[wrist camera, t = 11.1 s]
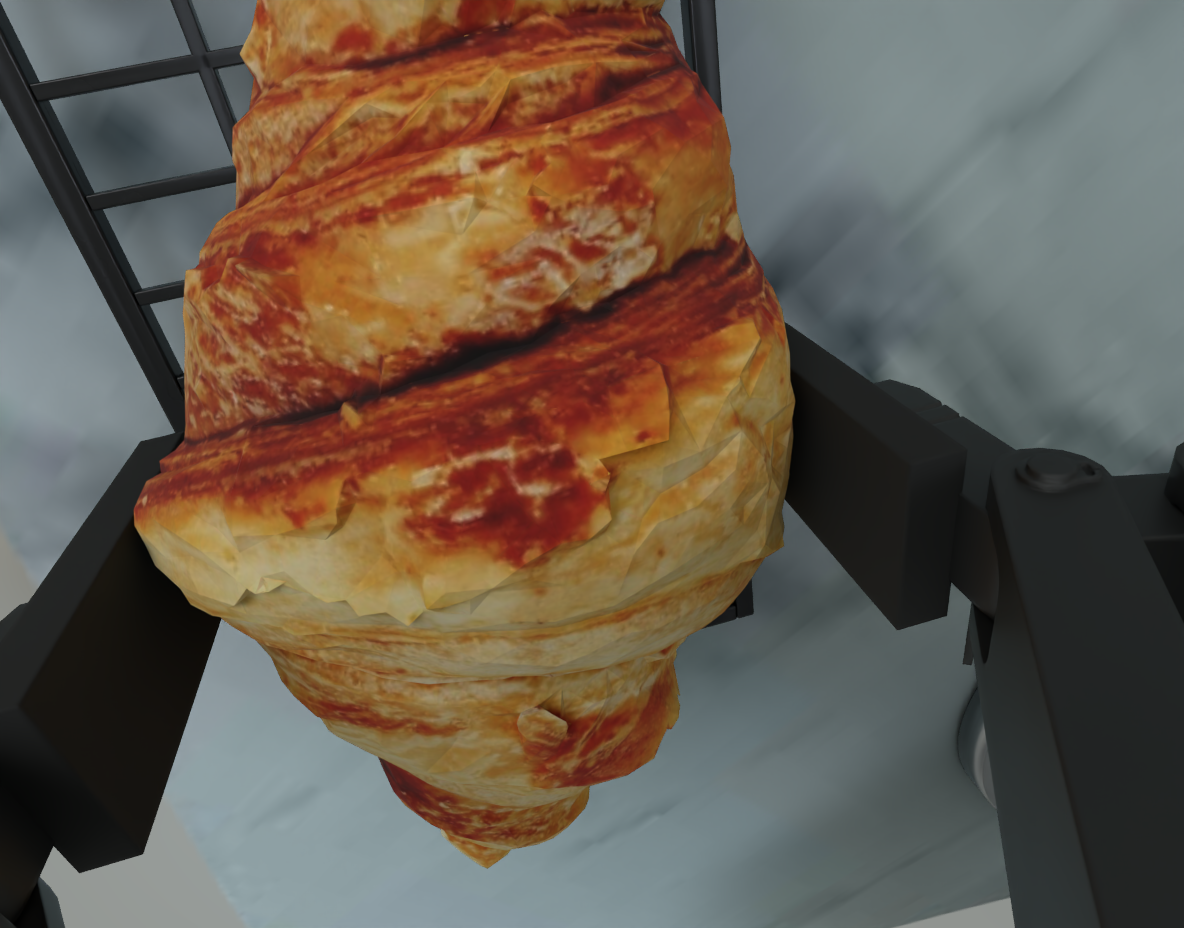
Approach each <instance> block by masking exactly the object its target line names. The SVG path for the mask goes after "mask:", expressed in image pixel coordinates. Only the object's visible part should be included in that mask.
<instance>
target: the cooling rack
mask: <svg viewBox="0 0 1184 928" xmlns="http://www.w3.org/2000/svg"><path fill="white" fill-rule="evenodd" d="M680 1H681V13H682V25H683V37H684V49H685V61H686V62H687V64H688V66H689V67H690V69H691V70H692V71H694V72H696V73H697V74H698V76H699V79H700V81H701V83H702V85H703V86H704V88H705V89H706V91H707V92H708V94H709V95H710V97H711V98H712V100H713V101H714V103H715V104H716V106H717V107H718V109H719V111H720V112H721V114H722V104H721V88H720V72H719V57H718V41H717V25H716V9H715V0H680ZM171 3H172V5H173V8H174V10H175V13H176V16H177V18H178V21H179V23H180V26H181V28H182V31H183V33H184V36H185V39H186V41H187V44H188V46H189V49H190V51H191V55H186V56H180V57H175V58H170V59H164V60H159V61H153V62H148V63H142V64H137V65H131V66H126V67H120V68H115V69H110V70H104V71H99V72H93V73H88V74H82V75H77V76H71V77H66V78H60V79H55V80H50V81H44V82H39V80H38V78H37V76H36V73H35V71H34V69H33V67H32V65H31V63H30V61H29V59H28V57H27V55H26V53H25V51H24V49H23V47H22V45H21V43H20V41H19V39H18V37H17V35H16V33H15V31H14V29H13V27H12V25H11V23H10V21H9V19H8V17H7V15H6V13H5V11H4V9H3V7H2V5H1V3H0V99H1V101H2V103H3V105H4V107H5V109H6V111H7V113H8V114H9V116H10V118H11V120H12V122H13V124H14V126H15V128H16V130H17V132H18V134H19V135H20V137H21V139H22V141H23V143H24V145H25V147H26V149H27V151H28V153H29V154H30V156H31V158H32V160H33V162H34V164H35V166H36V168H37V170H38V172H39V174H40V175H41V177H42V179H43V181H44V183H45V185H46V187H47V189H48V191H49V193H50V195H51V196H52V198H53V200H54V202H55V204H56V206H57V208H58V210H59V212H60V214H61V216H62V217H63V219H64V221H65V223H66V225H67V227H68V229H69V231H70V233H71V235H72V237H73V238H74V240H75V242H76V244H77V246H78V248H79V250H80V252H81V254H82V256H83V258H84V259H85V261H86V263H87V265H88V267H89V269H90V271H91V273H92V275H93V277H94V278H95V280H96V282H97V284H98V286H99V288H100V290H101V292H102V294H103V296H104V298H105V299H106V301H107V303H108V305H109V307H110V309H111V311H112V313H113V315H114V317H115V319H116V320H117V322H118V324H119V326H120V328H121V330H122V332H123V334H124V336H125V338H126V340H127V341H128V343H129V345H130V347H131V349H132V351H133V353H134V355H135V357H136V359H137V361H138V362H139V364H140V366H141V368H142V370H143V372H144V374H145V376H146V378H147V380H148V381H149V383H150V385H151V387H152V389H153V391H154V393H155V395H156V397H157V399H158V401H159V402H160V404H161V406H162V408H163V410H164V412H165V414H166V416H167V418H168V420H169V422H170V423H171V425H172V427H173V429H174V431H175V433H178V432H183V431H184V433H185V427H186V420H185V384H184V373H183V371H182V369H181V367H180V365H179V363H178V361H177V359H176V357H175V355H174V353H173V351H172V349H171V347H170V345H169V343H168V341H167V339H166V337H165V335H164V333H163V331H162V329H161V327H160V325H159V323H158V321H157V319H156V317H155V314H154V312H153V310H152V308H151V306H150V304H153V303H157V302H162V301H167V300H171V299H176V298H180V297H184V286H185V280H181V281H176V282H172V283H167V284H162V285H158V286H153V287H148V288H144V289H142V288H141V286H140V284H139V282H138V280H137V278H136V276H135V274H134V272H133V270H132V268H131V266H130V264H129V262H128V260H127V258H126V256H125V254H124V252H123V250H122V248H121V246H120V244H119V242H118V240H117V238H116V236H115V233H114V231H113V229H112V227H111V225H110V223H109V221H108V219H107V217H106V215H105V213H104V211H103V209H107V208H111V207H116V206H121V205H126V204H131V203H136V202H141V201H146V200H151V199H156V198H161V197H166V196H171V195H176V194H180V193H185V192H190V191H195V190H200V189H205V188H210V187H215V186H220V185H225V184H230V183H235V182H236V177H237V170H236V168H235V165H232V166H227V167H222V168H217V169H212V170H207V171H202V172H197V173H192V174H187V175H182V176H177V177H172V178H167V179H162V180H157V181H152V182H147V183H142V184H137V185H132V186H127V187H122V188H117V189H112V190H107V191H102V192H98V193H94V191H93V189H92V187H91V185H90V183H89V181H88V179H87V177H86V175H85V173H84V171H83V169H82V167H81V165H80V163H79V161H78V159H77V157H76V154H75V152H74V150H73V148H72V146H71V144H70V142H69V140H68V138H67V136H66V134H65V132H64V130H63V128H62V126H61V124H60V122H59V120H58V118H57V116H56V114H55V112H54V110H53V108H52V106H51V104H50V102H49V100H54V99H59V98H65V97H70V96H76V95H81V94H86V93H92V92H97V91H102V90H108V89H113V88H119V87H124V86H129V85H135V84H140V83H145V82H151V81H156V80H161V79H167V78H172V77H178V76H183V75H188V74H194V73H199V74H200V77H201V80H202V82H203V85H204V87H205V90H206V92H207V95H208V97H209V100H210V103H211V105H212V108H213V110H214V113H215V115H216V118H217V120H218V123H219V126H220V128H221V131H222V133H223V136H224V138H225V141H226V143H227V146H228V149H229V151H230V154H231V156H232V137H233V126H234V125H235V124H236V123H237V120H236V117H235V115H234V112H233V109H232V107H231V104H230V102H229V99H228V96H227V94H226V91H225V88H224V86H223V83H222V80H221V78H220V75H219V72H218V70H217V69H221V68H226V67H231V66H237V65H242V64H245V62H244V61H243V59H242V57H241V56H240V52H241V50H242V48H243V46H244V45H240V46H235V47H229V48H224V49H219V50H213V51H210V49H209V46H208V43H207V41H206V38H205V35H204V33H203V30H202V28H201V25H200V22H199V20H198V17H197V14H196V12H195V9H194V6H193V4H192V1H191V0H171ZM752 614H754V608H753V592H752V578H751V579H750V581H749V582H748V584H747V585H746V587H745V588H744V589H743V591H742V592H741V593H740V594H739V595H738V596H737V598H736V599H735V600H734V601H733V602H732V603H731V605H730V606H729V607H728V608H727V609H726V610H725V612H723V613H722V614H721V615H719V616H718V617H717V618H716V619H714V620H713V621H712V622H710V623H709V624H708V625H706V626H705V627H703V628H702V629H704V628H707V627H711V626H714V625H718V624H721V623H725V622H728V621H731V620H735V619H736V618H742V617H745V616H749V615H752Z"/></svg>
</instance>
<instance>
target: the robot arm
mask: <svg viewBox="0 0 1184 928" xmlns="http://www.w3.org/2000/svg"><path fill="white" fill-rule="evenodd" d="M784 324H785V329H786V335H787V340H788V346H789V351H790V381H791V385H792V389H793V393H794V397H795V406H794V411H793V416H792V424H793V444H792V452H791V461H790V470H789V474H790V475H789V479H788V485H787V490H786V494H785V500H786V501H787V502H788V504H789V505H790V506H791V507H792V508H793V509H794V511H795V512H796V513H797V514H798V515H799V516H800V518H801V519H802V520H803V521H804V522H805V523H806V525H807V526H808V527H809V528H810V529H811V530H812V532H813V533H814V534H815V535H816V536H817V537H818V539H819V540H820V541H821V542H822V543H823V544H824V546H825V547H826V548H827V549H828V550H829V551H830V553H831V554H832V555H833V556H834V557H835V558H836V560H837V561H838V562H839V563H840V564H841V565H842V567H843V568H844V569H845V570H846V571H847V572H848V574H849V575H850V576H851V577H852V578H853V579H854V581H855V582H856V583H857V584H858V585H859V586H860V588H861V589H862V590H863V591H864V592H865V593H866V595H867V596H868V597H869V598H870V599H871V600H872V602H873V603H874V604H875V605H876V606H877V607H878V609H879V610H880V611H881V612H882V613H883V614H884V616H885V617H886V618H887V619H888V620H889V621H890V623H891V624H892V625H893V626H894V627H895V628H896V630H901V629H904V628H907V627H911V626H914V625H917V624H921V623H924V622H928V621H931V620H934V619H938V618H941V617H944V616H947V612H948V604H949V595H950V587H951V582H952V583H953V584H954V585H955V586H956V587H957V588H958V589H959V590H960V591H961V592H962V593H963V594H964V595H965V596H966V597H967V598H968V599H969V600H970V601H971V602H972V604H971V610H970V617H969V624H968V631H967V638H966V645H965V652H964V659H963V664H966V665H972V661H973V657H974V664H975V670H976V677H977V683H978V688H977V690H976V692H975V693H974V695H973V697H972V699H971V701H970V702H969V705H968V707H967V709H966V711H965V714H964V717H963V720H962V723H961V727H960V731H959V738H958V752H959V757H960V761H961V764H962V766H963V768H964V770H965V771H966V773H967V774H968V776H969V777H970V778H971V780H972V781H973V782H974V783H975V785H976V786H977V787H978V788H979V790H980V791H981V792H982V794H983V795H984V796H985V797H986V799H987V800H988V801H989V803H990V804H991V805H992V806H993V807H994V808H995V809H996V810H997V813H998V820H999V826H1000V833H1001V839H1002V846H1003V852H1004V859H1005V865H1006V872H1007V878H1008V885H1009V891H1010V898H1011V904H1012V911H1013V917H1014V924H1015V928H1184V442H1183V443H1182V444H1180V445H1179V446H1177V448H1176V451H1175V455H1174V458H1173V461H1172V465H1171V468H1170V471H1169V473H1161V474H1145V475H1128V476H1111V475H1110V473H1109V472H1108V471H1107V470H1106V469H1105V468H1104V467H1103V466H1102V465H1100V464H1098V463H1096V462H1095V461H1093V460H1091V459H1089V458H1087V457H1085V456H1082V455H1078V454H1075V453H1071V452H1067V451H1064V450H1055V449H1046V448H1032V449H1019V450H1015V449H1013V448H1012V447H1010V446H1009V445H1007V444H1006V443H1004V442H1002V441H1001V440H999V439H998V438H996V437H995V436H993V435H992V434H990V433H988V432H987V431H985V430H984V429H982V428H981V427H979V426H978V425H976V424H974V423H973V422H971V421H970V420H968V419H967V418H965V417H959V413H957V412H956V411H954V410H953V409H951V408H949V407H948V406H946V405H943V406H942V404H941V402H940V401H939V400H937V399H935V398H934V397H932V396H931V395H929V394H928V393H926V392H925V391H923V390H921V389H920V388H917V387H913V386H910V385H907V384H903V383H900V382H897V381H893V380H886V381H882V382H878V383H874V384H873V383H872V382H870V381H869V380H867V379H866V378H865V377H863V376H862V375H860V374H859V373H857V372H856V371H855V370H853V369H852V368H850V367H849V366H847V365H846V364H844V363H843V362H842V361H840V360H839V359H837V358H836V357H834V356H833V355H832V354H830V353H829V352H827V351H826V350H824V349H823V348H821V347H820V346H819V345H817V344H816V343H814V342H813V341H811V340H810V339H809V338H807V337H806V336H804V335H803V334H801V333H800V332H798V331H797V330H796V329H794V328H793V327H791V326H790V325H788V324H787V323H786V322H784ZM184 437H185V433H184V431H183V432H178V433H174V434H170V435H166V436H162V437H157V438H153V439H149V440H145V441H141V442H140V443H139V445H138V446H137V448H136V449H135V450H134V452H133V453H132V455H131V456H130V458H129V459H128V460H127V462H126V463H125V465H124V466H123V468H122V469H121V470H120V472H119V473H118V475H117V476H116V478H115V479H114V480H113V482H112V483H111V485H110V486H109V488H108V489H107V490H106V492H105V493H104V495H103V496H102V498H101V499H100V501H99V502H98V503H97V505H96V506H95V508H94V509H93V511H92V512H91V513H90V515H89V516H88V518H87V519H86V521H85V522H84V523H83V525H82V526H81V528H80V529H79V531H78V532H77V533H76V535H75V536H74V538H73V539H72V541H71V542H70V543H69V545H68V546H67V548H66V549H65V551H64V552H63V553H62V555H61V556H60V558H59V559H58V561H57V562H56V563H55V565H54V566H53V568H52V569H51V571H50V572H49V573H48V575H47V576H46V578H45V579H44V581H43V582H42V583H41V585H40V586H39V588H38V589H37V591H36V592H35V594H34V595H33V596H32V598H31V599H30V601H29V602H28V603H25V604H21V605H19V606H18V607H17V608H16V609H14V610H13V611H12V612H11V613H10V614H8V615H7V616H6V617H5V618H4V619H3V620H1V621H0V928H65V926H64V922H63V918H62V914H61V909H60V905H59V901H58V898H57V896H56V895H55V894H54V892H53V891H52V889H51V888H50V887H49V886H48V885H47V884H46V883H45V882H44V881H43V880H42V879H41V878H40V874H41V872H42V870H43V868H44V865H45V863H46V861H47V859H48V857H49V855H50V852H51V850H52V848H53V846H54V847H55V848H56V849H57V850H58V851H59V852H60V853H61V854H62V855H63V856H64V857H65V858H66V859H67V861H68V862H69V863H70V864H71V865H72V866H73V867H74V868H75V869H76V870H77V871H78V872H79V873H82V872H85V871H88V870H92V869H95V868H99V867H102V866H105V865H109V864H112V863H115V862H119V861H122V860H125V859H129V858H132V857H135V856H139V855H142V854H143V852H144V850H145V846H146V843H147V840H148V837H149V835H150V832H151V829H152V826H153V823H154V820H155V817H156V814H157V811H158V808H159V805H160V802H161V799H162V796H163V793H164V790H165V787H166V784H167V781H168V778H169V775H170V772H171V769H172V766H173V763H174V760H175V757H176V754H177V751H178V748H179V745H180V742H181V739H182V736H183V733H184V730H185V727H186V723H187V720H188V717H189V714H190V711H191V708H192V705H193V702H194V699H195V696H196V693H197V690H198V687H199V684H200V681H201V678H202V675H203V672H204V669H205V666H206V663H207V660H208V657H209V654H210V651H211V648H212V645H213V642H214V639H215V636H216V633H217V630H218V627H219V624H220V621H221V617H217V616H212V615H210V614H208V613H206V612H204V611H202V610H200V609H198V608H197V607H195V606H193V605H191V604H190V603H189V601H188V600H187V598H186V597H185V595H184V594H183V592H182V591H181V589H180V588H179V587H178V586H177V585H176V584H174V583H173V582H172V581H171V580H170V579H169V578H168V577H167V576H166V575H165V574H164V573H163V572H162V571H160V570H159V569H158V568H157V567H156V566H155V564H154V562H153V560H152V558H151V556H150V554H149V552H148V550H147V548H146V546H145V544H144V542H143V540H142V538H141V536H140V535H139V533H138V531H137V529H136V527H135V525H134V507H135V505H136V503H137V501H138V499H139V496H140V494H141V492H142V490H143V488H144V485H145V483H146V481H148V480H149V479H151V478H153V477H155V476H156V475H158V474H160V473H161V468H160V460H162V459H163V458H165V457H166V456H168V455H169V454H171V453H172V452H174V451H175V450H176V449H177V448H178V447H179V445H180V444H181V443H182V442H183V441H184Z"/></svg>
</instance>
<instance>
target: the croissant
mask: <svg viewBox="0 0 1184 928" xmlns="http://www.w3.org/2000/svg"><path fill="white" fill-rule="evenodd" d="M664 1H665V0H257V5H256V10H255V15H254V20H253V25H252V29H251V32H250V34H249V36H248V38H247V40H246V42H245V44H244V46H243V48H242V50H241V52H240V56H241V57H242V59H243V61H244V62H245V64H246V66H247V67H248V69H249V71H250V72H251V74H252V76H253V77H254V81H253V88H252V95H251V101H250V108H249V111H248V112H247V113H246V114H245V115H244V116H243V117H242V118H241V119H240V120H239V121H238V122H237V123H236V124H235V125H234V126H233V137H232V161H233V163H234V165H235V168H236V170H237V177H236V210H234V211H232V212H230V213H228V214H227V215H226V216H224V217H223V218H222V219H221V220H220V221H219V222H217V223H216V225H215V227H214V229H213V230H212V232H211V234H210V236H209V237H208V239H207V241H206V242H205V244H204V246H203V248H202V249H201V251H200V258H199V265H198V266H197V267H196V268H195V269H190V270H186V275H185V286H184V306H183V319H184V328H185V372H184V384H185V420H186V427H185V437H184V441H183V442H182V443H181V444H180V445H179V447H178V448H177V449H176V450H175V451H174V452H172V453H171V454H169V455H168V456H166V457H165V458H163V459H162V460H160V468H161V473H160V474H158V475H156V476H155V477H153V478H151V479H149V480H148V481H146V483H145V485H144V488H143V490H142V492H141V494H140V496H139V499H138V501H137V503H136V505H135V507H134V525H135V527H136V529H137V531H138V533H139V535H140V536H141V538H142V540H143V542H144V544H145V546H146V548H147V550H148V552H149V554H150V556H151V558H152V560H153V562H154V564H155V566H156V567H157V568H158V569H159V570H160V571H162V572H163V573H164V574H165V575H166V576H167V577H168V578H169V579H170V580H171V581H172V582H173V583H174V584H176V585H177V586H178V587H179V588H180V589H181V591H182V592H183V594H184V595H185V597H186V598H187V600H188V601H189V603H190V604H191V605H193V606H195V607H197V608H198V609H200V610H202V611H204V612H206V613H208V614H210V615H212V616H217V617H221V618H222V619H223V620H224V621H225V622H227V623H228V624H229V625H231V626H232V627H234V628H236V629H238V630H239V631H241V632H243V633H244V634H246V635H248V636H250V637H251V638H253V639H255V640H256V641H257V642H258V643H259V644H260V645H261V646H262V648H263V649H264V650H265V651H266V652H267V653H268V654H269V655H270V657H271V658H272V660H273V662H274V665H275V667H276V669H277V671H278V674H279V676H280V678H281V680H282V682H283V683H284V684H285V686H286V687H287V688H288V689H289V690H290V692H291V693H292V694H293V695H294V696H295V697H296V698H297V699H298V700H299V701H300V702H301V703H302V704H303V705H305V706H306V707H307V708H308V709H309V710H310V711H311V712H312V713H313V714H315V715H316V716H317V717H320V718H321V719H322V721H323V722H324V724H325V725H326V727H327V728H328V730H329V731H331V732H332V733H333V734H334V735H336V736H337V737H339V738H341V739H343V740H345V741H347V742H349V743H351V744H353V745H355V746H357V747H359V748H361V749H363V750H365V751H367V752H369V753H371V754H373V755H375V756H378V758H379V760H380V762H381V765H382V767H383V769H384V772H385V774H386V776H387V778H388V780H389V782H390V785H391V787H392V789H393V791H394V792H395V794H396V795H397V796H398V797H399V798H400V800H401V801H402V802H403V803H404V804H405V806H407V807H408V808H409V809H411V810H412V811H414V812H415V813H416V814H418V815H419V816H420V817H422V818H423V819H425V820H426V821H427V822H429V823H430V824H431V825H433V826H436V827H438V828H440V829H441V834H442V836H443V837H444V838H445V839H446V840H447V841H449V842H450V843H451V844H452V845H453V846H454V847H455V848H457V849H458V850H459V851H460V852H462V853H463V854H465V855H466V856H467V857H469V858H470V859H472V860H473V861H474V862H476V863H477V864H479V865H481V866H483V867H485V868H487V869H488V868H489V867H491V866H492V865H493V864H495V863H496V862H498V861H499V860H500V859H502V858H503V857H504V856H506V855H507V854H508V853H509V851H510V850H511V849H515V848H522V847H527V846H532V845H537V844H540V843H543V842H545V841H547V840H550V839H552V838H554V837H555V836H557V835H558V834H559V833H561V832H562V831H563V830H565V829H566V828H567V827H568V826H569V825H570V824H571V823H572V822H573V821H574V820H575V819H576V818H577V817H578V815H579V814H580V813H581V812H582V811H583V810H584V809H585V807H586V804H587V802H588V799H589V787H590V786H592V785H595V784H599V783H602V782H606V781H609V780H612V779H616V778H619V777H623V776H626V775H629V774H630V773H631V772H633V771H635V770H636V769H638V768H639V767H641V766H643V765H644V764H646V763H647V762H649V761H650V760H652V759H654V757H655V755H656V752H657V750H658V747H659V745H660V742H661V740H662V738H663V736H664V734H665V732H666V730H667V729H672V728H673V726H674V724H675V723H676V721H677V719H678V718H679V710H680V704H679V700H678V695H679V696H680V693H679V688H678V683H677V678H676V673H675V668H674V664H673V662H674V660H675V658H676V656H677V653H676V649H677V648H678V647H679V646H680V644H682V643H683V642H684V641H685V639H686V637H687V636H689V635H691V634H692V633H694V632H696V631H698V630H700V629H702V628H703V627H705V626H706V625H708V624H709V623H710V622H712V621H713V620H714V619H716V618H717V617H718V616H719V615H721V614H722V613H723V612H725V610H726V609H727V608H728V607H729V606H730V605H731V603H732V602H733V601H734V600H735V599H736V598H737V596H738V595H739V594H740V593H741V592H742V591H743V589H744V588H745V587H746V585H747V584H748V582H749V581H750V579H751V578H752V576H753V575H754V573H755V572H756V570H757V569H758V567H759V566H760V564H761V563H762V561H763V560H764V558H765V557H768V556H769V555H771V554H772V553H774V552H775V551H777V550H779V549H780V548H782V547H783V546H784V542H783V532H784V522H783V517H782V508H783V503H784V499H785V494H786V490H787V485H788V479H789V475H790V474H789V470H790V461H791V452H792V444H793V424H792V416H793V411H794V406H795V397H794V393H793V389H792V385H791V381H790V351H789V346H788V340H787V335H786V329H785V324H784V318H783V313H782V308H781V306H780V304H779V302H778V299H777V297H776V295H775V292H774V290H773V288H772V287H771V285H770V284H769V282H768V281H767V279H766V278H765V276H764V272H763V269H762V267H761V266H760V264H759V263H758V261H757V259H756V258H755V256H754V255H753V253H752V251H751V250H750V248H749V247H748V245H747V243H746V241H745V239H744V234H743V230H742V227H741V223H740V220H739V216H738V213H737V204H736V193H735V183H734V175H733V172H732V169H731V167H730V164H729V163H730V152H731V145H730V141H729V137H728V132H727V128H726V124H725V120H724V117H723V115H722V114H721V112H720V111H719V109H718V107H717V106H716V104H715V103H714V101H713V100H712V98H711V97H710V95H709V94H708V92H707V91H706V89H705V88H704V86H703V85H702V83H701V81H700V79H699V76H698V74H697V73H696V72H694V71H692V70H691V69H690V67H689V66H688V64H687V62H686V61H685V59H684V57H683V55H682V54H681V52H680V50H679V49H678V46H677V44H676V41H675V38H674V36H673V33H672V31H671V28H670V26H669V25H668V24H667V22H666V21H665V20H664V18H663V17H662V16H661V15H660V10H661V8H662V6H663V3H664ZM677 694H678V695H677Z"/></svg>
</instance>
